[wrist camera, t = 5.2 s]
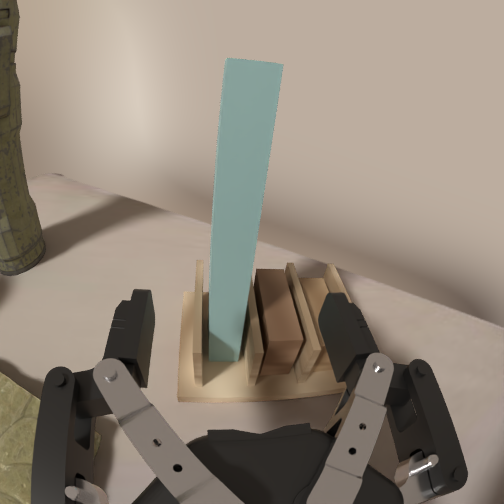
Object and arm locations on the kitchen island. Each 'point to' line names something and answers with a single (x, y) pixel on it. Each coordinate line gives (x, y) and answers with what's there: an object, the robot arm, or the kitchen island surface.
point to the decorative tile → (18, 441)
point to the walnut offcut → (276, 322)
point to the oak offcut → (316, 316)
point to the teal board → (238, 196)
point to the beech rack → (250, 352)
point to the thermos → (14, 161)
